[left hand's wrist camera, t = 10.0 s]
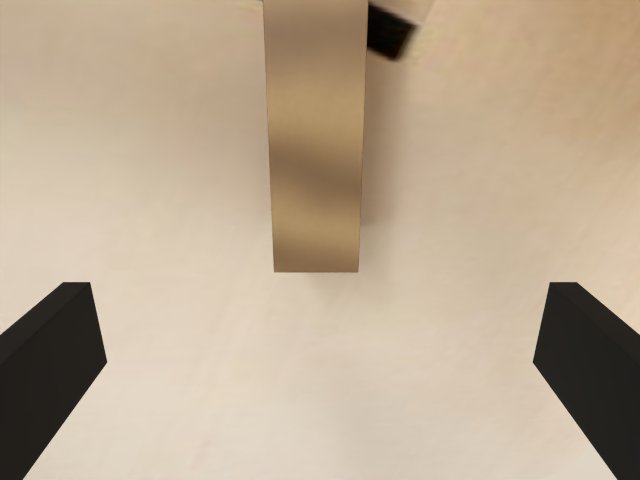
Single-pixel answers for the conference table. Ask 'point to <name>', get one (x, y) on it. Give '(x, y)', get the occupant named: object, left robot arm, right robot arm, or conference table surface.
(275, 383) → the conference table surface
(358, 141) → the beam
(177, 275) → the conference table surface
